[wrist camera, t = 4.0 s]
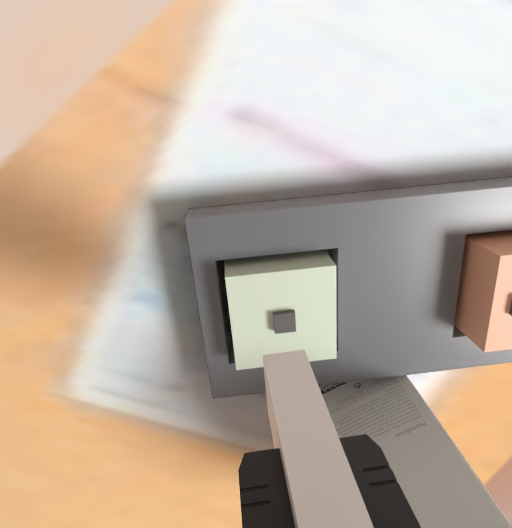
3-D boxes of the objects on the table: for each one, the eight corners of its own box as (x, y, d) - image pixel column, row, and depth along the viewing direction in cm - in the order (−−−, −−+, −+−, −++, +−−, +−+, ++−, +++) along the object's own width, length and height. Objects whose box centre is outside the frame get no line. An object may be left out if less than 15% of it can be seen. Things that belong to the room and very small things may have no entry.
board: (213, 374, 22) (212, 398, 21) (188, 209, 19) (184, 219, 17) (539, 336, 23) (566, 355, 21) (577, 170, 20) (614, 176, 18)
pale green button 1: (234, 336, 21) (236, 374, 18) (224, 254, 20) (224, 280, 17) (322, 326, 22) (338, 362, 19) (320, 244, 20) (338, 268, 17)
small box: (312, 394, 24) (374, 592, 14) (395, 355, 23) (521, 533, 13) (359, 473, 27) (439, 682, 17) (434, 440, 26) (562, 637, 16)
